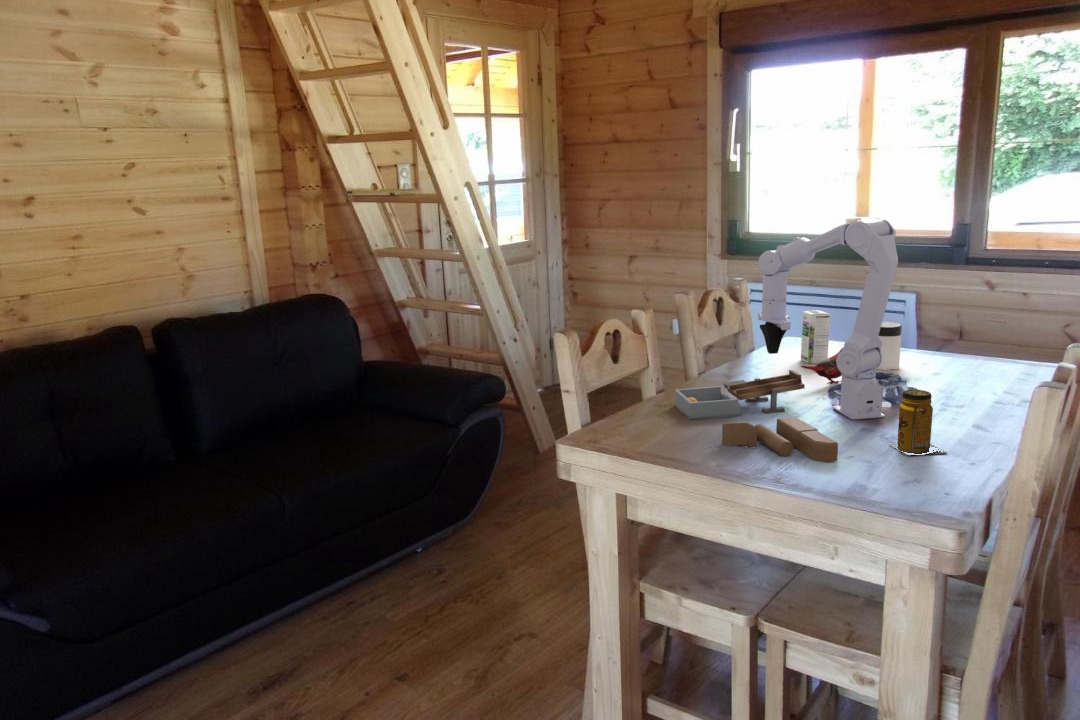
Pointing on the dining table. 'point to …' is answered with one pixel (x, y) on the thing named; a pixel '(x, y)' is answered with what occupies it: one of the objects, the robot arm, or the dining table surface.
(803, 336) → the syrup box
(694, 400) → the ball
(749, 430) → the wooden block set
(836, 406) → the robot arm
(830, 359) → the red pointed-tail figurine
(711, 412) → the tray
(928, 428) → the condiment
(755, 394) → the wooden rack
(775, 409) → the lever stand
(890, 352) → the jar
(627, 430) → the dining table surface
